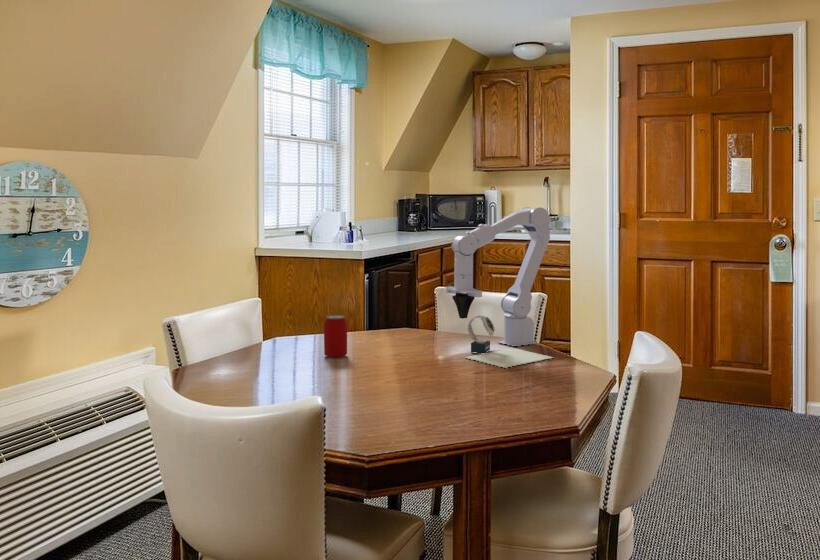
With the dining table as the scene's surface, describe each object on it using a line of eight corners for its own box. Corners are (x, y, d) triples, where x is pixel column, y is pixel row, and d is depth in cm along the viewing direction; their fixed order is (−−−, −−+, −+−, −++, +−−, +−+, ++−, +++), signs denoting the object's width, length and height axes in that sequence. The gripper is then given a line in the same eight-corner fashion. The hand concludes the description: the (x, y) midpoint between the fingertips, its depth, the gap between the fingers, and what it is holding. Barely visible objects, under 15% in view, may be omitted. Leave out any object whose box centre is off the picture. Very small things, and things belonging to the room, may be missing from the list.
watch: (490, 355, 220) (491, 318, 219) (465, 352, 223) (465, 316, 222) (496, 351, 225) (496, 315, 224) (471, 349, 228) (471, 314, 227)
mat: (513, 349, 227) (513, 348, 227) (553, 358, 214) (553, 357, 214) (465, 358, 215) (465, 357, 215) (505, 368, 202) (505, 366, 202)
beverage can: (349, 354, 221) (348, 314, 219) (344, 359, 214) (344, 318, 213) (326, 353, 221) (326, 314, 220) (322, 358, 215) (321, 318, 213)
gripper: (438, 273, 231) (438, 316, 232) (470, 277, 219) (469, 322, 221) (455, 272, 235) (455, 314, 237) (487, 275, 224) (486, 320, 225)
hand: (463, 318), depth 229 cm, fingers closed
